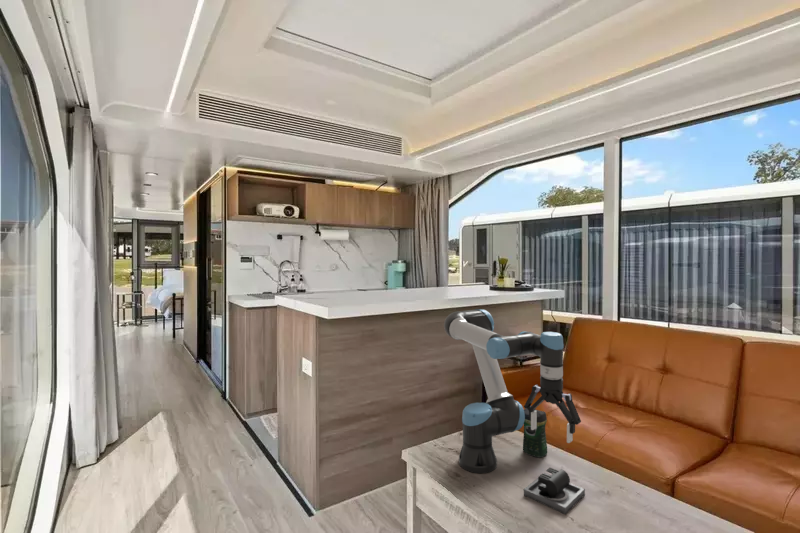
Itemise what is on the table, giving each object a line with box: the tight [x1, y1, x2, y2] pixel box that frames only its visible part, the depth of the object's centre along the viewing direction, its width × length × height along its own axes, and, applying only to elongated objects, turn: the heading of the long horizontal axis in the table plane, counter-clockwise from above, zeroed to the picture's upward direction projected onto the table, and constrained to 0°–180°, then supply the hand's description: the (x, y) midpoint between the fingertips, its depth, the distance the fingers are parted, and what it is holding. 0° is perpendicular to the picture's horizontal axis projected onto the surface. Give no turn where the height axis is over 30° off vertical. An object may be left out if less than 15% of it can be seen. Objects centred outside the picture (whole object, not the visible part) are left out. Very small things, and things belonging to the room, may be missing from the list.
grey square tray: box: [523, 472, 586, 515], centre depth 146 cm, size 15×15×2 cm
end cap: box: [538, 467, 571, 498], centre depth 146 cm, size 10×7×7 cm
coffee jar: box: [522, 408, 548, 458], centre depth 176 cm, size 10×8×19 cm
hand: (551, 435), depth 149 cm, fingers open, 13 cm apart
